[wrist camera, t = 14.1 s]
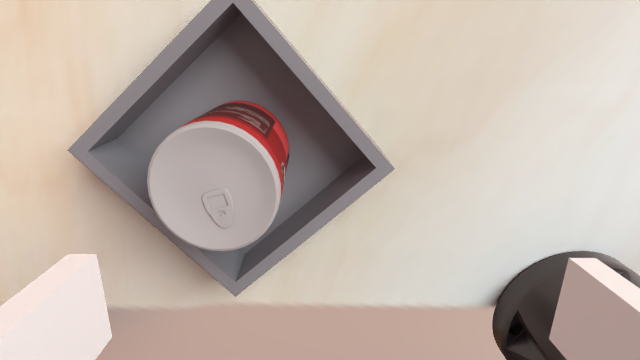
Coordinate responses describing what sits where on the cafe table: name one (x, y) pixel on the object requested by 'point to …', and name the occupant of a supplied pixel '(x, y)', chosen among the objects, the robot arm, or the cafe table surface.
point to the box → (225, 86)
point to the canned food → (220, 176)
